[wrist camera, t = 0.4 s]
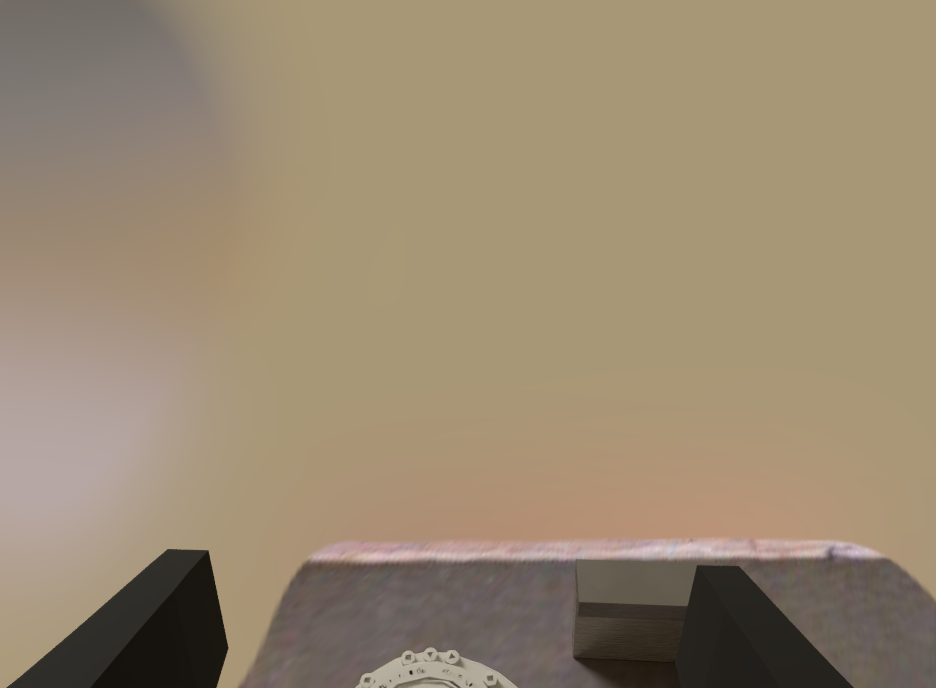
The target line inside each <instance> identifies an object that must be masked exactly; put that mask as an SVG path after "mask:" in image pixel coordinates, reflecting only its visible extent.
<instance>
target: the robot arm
mask: <svg viewBox="0 0 936 688" xmlns="http://www.w3.org/2000/svg"><path fill="white" fill-rule="evenodd" d="M227 650H228V644H227V639H226V634H225V629H224V624H223V620H222V615H221V609H220V605H219V600H218V595H217V590H216V585H215V580H214V576H213V570H212V565H211V561H210V556H209V551H208V550H177V549H167V550H166V551H165V552H164V553H163V554H162V555H160V556H159V557H158V558H157V559H156V560H155V561H153V562H152V563H151V564H150V565H149V566H148V567H146V568H145V569H144V570H143V571H142V572H141V573H140V574H138V575H137V576H136V577H135V578H134V579H133V580H132V581H131V582H129V583H128V584H127V585H126V586H125V587H124V588H123V589H121V590H120V591H119V592H118V593H117V594H116V595H114V596H113V597H112V598H111V599H110V600H109V601H108V602H107V603H105V604H104V605H103V606H102V607H101V608H100V609H99V610H97V611H96V612H95V613H94V614H93V615H92V616H91V617H89V618H88V619H87V620H86V621H85V622H84V623H83V624H82V625H80V626H79V627H78V628H77V629H76V630H75V631H73V632H72V633H71V634H70V635H69V636H68V637H66V638H65V639H64V640H63V641H62V642H61V643H59V644H58V645H57V646H56V647H55V648H53V650H51V651H50V652H49V653H48V654H46V655H45V656H44V657H43V658H42V659H41V660H39V661H38V662H37V663H36V664H35V665H34V666H32V667H31V668H30V669H29V670H28V671H27V672H25V673H24V674H23V675H22V676H21V677H19V678H18V679H17V680H16V681H14V682H13V683H12V684H11V685H9V686H8V687H7V688H216V687H217V684H218V681H219V677H220V674H221V671H222V667H223V664H224V661H225V658H226V654H227ZM675 666H676V670H677V675H678V680H679V685H680V688H853V686H852V685H851V684H850V683H849V682H848V681H847V680H846V679H845V678H844V677H843V676H842V675H841V674H840V673H839V672H838V671H837V670H836V669H835V668H834V667H833V666H832V665H831V664H830V663H829V662H828V661H827V660H826V659H825V658H824V657H823V656H822V655H821V653H820V652H819V651H818V650H817V649H816V648H815V647H814V646H813V645H812V644H811V643H810V642H809V641H808V640H807V639H806V638H805V637H804V635H803V634H802V633H801V632H800V631H799V630H798V629H797V628H796V627H795V626H794V625H793V624H792V623H791V622H790V621H789V619H788V618H787V617H786V616H785V615H784V614H783V613H782V612H781V611H780V610H779V609H778V608H777V607H776V605H775V604H774V603H773V602H772V601H771V600H770V599H769V598H768V597H767V596H766V595H765V594H764V593H763V591H762V590H761V589H760V588H759V587H758V586H757V585H756V584H755V583H754V582H753V581H752V580H751V579H750V577H749V576H748V575H747V574H746V573H745V572H744V571H743V570H742V569H741V568H740V567H739V566H712V565H697V567H696V572H695V576H694V580H693V585H692V589H691V593H690V598H689V602H688V607H687V611H686V615H685V620H684V624H683V628H682V633H681V637H680V642H679V646H678V650H677V655H676V659H675Z"/></svg>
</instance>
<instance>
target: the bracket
mask: <svg viewBox="0 0 936 688" xmlns="http://www.w3.org/2000/svg"><path fill="white" fill-rule="evenodd" d="M697 565H712V566H723V564H700V563H669V562H638V561H607V560H576V570H575V589H574V608H573V626H572V647H573V657H577V658H598V659H618V660H639V661H659V662H675V659H676V655H677V650H678V646H679V642H680V637H681V633H682V628H683V624H684V620H685V615H686V611H687V607H688V602H689V598H690V593H691V589H692V585H693V580H694V576H695V572H696V567H697Z"/></svg>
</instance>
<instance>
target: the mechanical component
mask: <svg viewBox="0 0 936 688" xmlns="http://www.w3.org/2000/svg"><path fill="white" fill-rule="evenodd" d="M356 688H518V687H516V686H515V685H514V684H513V683H511V682H510V681H509V680H508V679H506V678H505V677H504V676H503V675H501V674H500V673H499V672H497V671H494V670H492V669H490V668H488V667H486V666H484V665H482V664H480V663H478V662H474V661H471V660H468V659H465V658H462V657H460V656H459V654H458V653H457V652H456V651H455V650H450V651H448V652H447V653H442V652H437V651H436V650H435V649H434V648H427V649H426V650H425V651H424V652H423V653H418V654H414V653H413V652H411V651H406V652H405V653H403V655H402V657H400V658H396V659H395V660H393V661H391V662H389V663H388V664H386V665H384V666H383V667H381V668H379V669H377V670H376V671H374V672H372V673H371V674H369V673H366V674H364V675H363V676H362V678H361V680H360V684H359V685H358V686H357V687H356Z"/></svg>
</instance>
